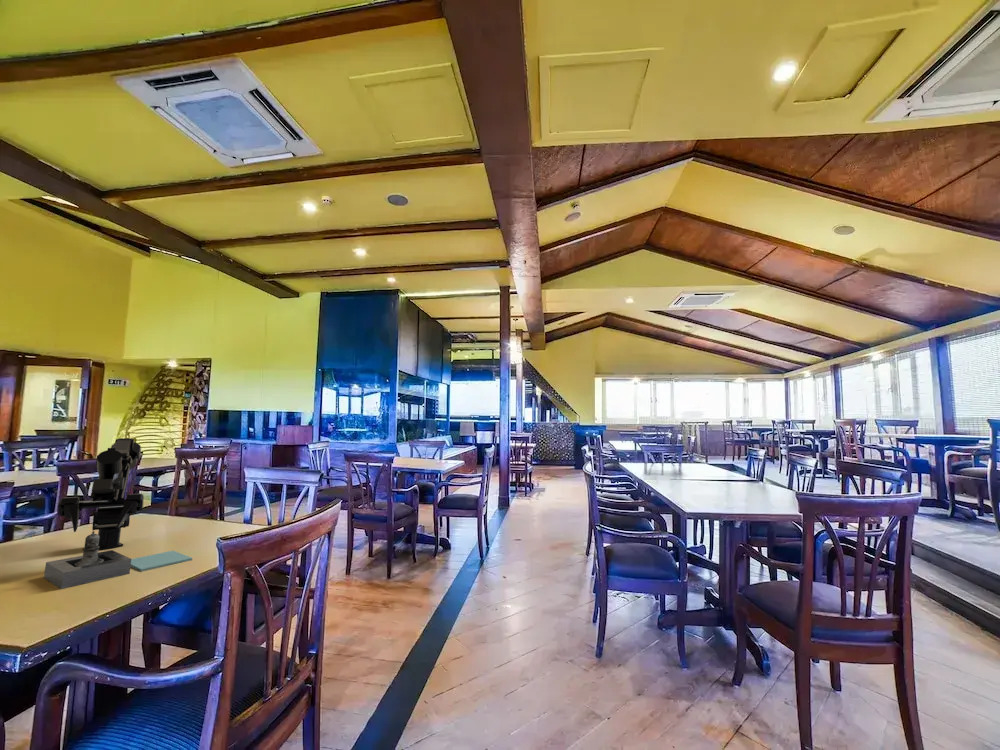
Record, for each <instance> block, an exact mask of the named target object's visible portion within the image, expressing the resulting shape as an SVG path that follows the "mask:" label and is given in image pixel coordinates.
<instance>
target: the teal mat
mask: <svg viewBox="0 0 1000 750" xmlns="http://www.w3.org/2000/svg"><path fill="white" fill-rule="evenodd" d="M192 560H193V557H191V556H189V555H186V554H184V553H180V552H178V551H175V550H170V551H164V552H159V553H155V554H149V555H145V556H140V557H135V558H134V557H133V558H131V566H130V568H133V569H135V570H137V571H140V572H145V571H149V570H154V569H158V568H159V569H160V568H163V567H167V566H171V565H177V564H181V563H185V562H189V561H192Z"/></svg>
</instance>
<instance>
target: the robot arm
mask: <svg viewBox="0 0 1000 750" xmlns="http://www.w3.org/2000/svg"><path fill="white" fill-rule="evenodd" d="M141 454H142V446H141V444H139V443H137V442H135V439H134V438H130V437H129V438H126V437H125V438H121V437H119V438H116V439H115V442H114V443H113V444H111V446H110V447H107V449H106V450H104V451H102V452H100V453H98V454H97V455H96V460H95V466H96V467H97V469H96V470H97V474H98V477H97V479H94V480H93V483H92V488H91V493H90V499H91V500H81V499H80V496H72V497H71V496H70V497H69V496H68V497H63V498H61V499H60V500H59V502H58V504H57V506H58V507H57V509H58V515H59V516H60V517H64V518H65V519H69V520H70V522H71V524H72V530H73V533H76V532H77V530H78V526H79V520H80V519H79V518H80V514H79V513H80V511H81V509H96V508H97V510H96V511H94V512H93V518H92V531H97V530H98V533H97V534H98V535H99V545H98V546H100V548H98V551H100V550H101V551H102V550H106V549H112V548H118V547H123V546H124V543H122V542H120V540H121V532H122V528H125V529H126V528H127V527H130V523H131V522H130V521H131V516H132V515H134V514H136V513H137V512H141V511H143V507H144V503H145V501H144V499H145V498H144V497H145V496H144V494H143V493H128V494H127V495H126V499H125V492H126V488H127V484H128V483H127V482H128V479H129V474H130V471H131V469H133V468H134V467H136V465H137V463H138V460H140V458H141Z"/></svg>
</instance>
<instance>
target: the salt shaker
mask: <svg viewBox="0 0 1000 750" xmlns="http://www.w3.org/2000/svg"><path fill="white" fill-rule="evenodd" d="M84 540H85V541H84V547H83V548H82V551H83V552H82V553H83V554H82V556H83V557H82V560H81V561H80V562H77V563H75V566H76V567H79V566H84V565H89V564H94V563H99V562H103V561H104V560H103V559H99V558H98V553H99V550H98V548H100V546H98V545H99V535H98V533H97V534H96V533H95V530H92V531H91V534H88V535H87V536H86V537H85V539H84Z"/></svg>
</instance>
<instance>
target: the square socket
mask: <svg viewBox="0 0 1000 750" xmlns="http://www.w3.org/2000/svg"><path fill="white" fill-rule="evenodd" d="M82 557H83V555H78V556H72V557H67V558H62V559H56V560H51V561H47V562H45V568H44V573H43V574H44V575H43V578H44V579H45V580H47V581H48V582H50V583H51V584H52V585H54V586H56V587H57V588H59V589H60V590H64V589H68V588H72V587H77V586H80V585H81V586H82V585H85V584H89V583H90V584H91V583H93V582H98V581H103V580H108V579H111V578H116V577H121V576H125V575H130V573H131V559H132V558H130V557H128V556H127V555H123V554H121V553H119V552H117V551H114V550H113V549H112V550H105V551H100V552H99V551H98V558H99V559H103V560H104V561H103V562H99V563H94V564H89V565H84V566H79V567H76V566H75V563H77V562H80V561H81V560H82Z"/></svg>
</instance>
